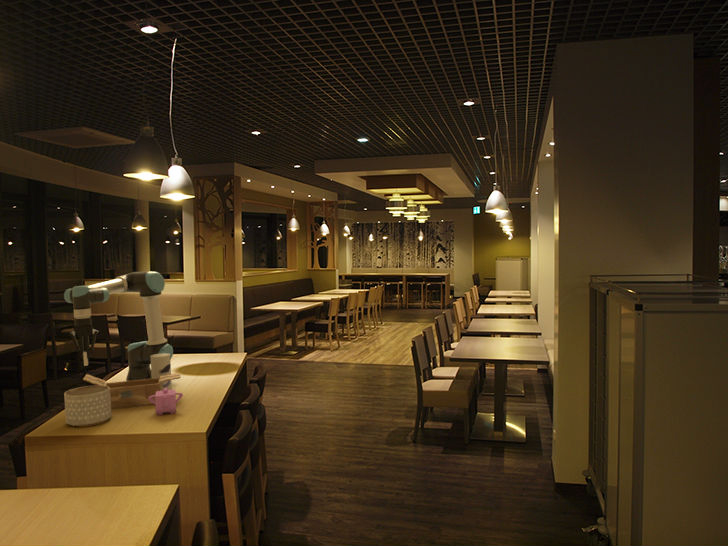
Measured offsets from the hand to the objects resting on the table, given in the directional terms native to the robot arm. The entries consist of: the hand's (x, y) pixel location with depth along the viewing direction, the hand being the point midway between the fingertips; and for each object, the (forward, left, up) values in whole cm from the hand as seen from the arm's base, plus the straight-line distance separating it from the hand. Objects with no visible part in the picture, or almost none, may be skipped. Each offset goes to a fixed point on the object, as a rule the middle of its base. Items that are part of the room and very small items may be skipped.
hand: (86, 365), depth 284 cm
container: (-19, +34, -21) cm, 44 cm away
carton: (0, +21, -21) cm, 30 cm away
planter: (+26, +4, -21) cm, 34 cm away
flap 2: (0, +33, -10) cm, 35 cm away
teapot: (+25, +37, -21) cm, 50 cm away
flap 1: (0, +8, -10) cm, 13 cm away
